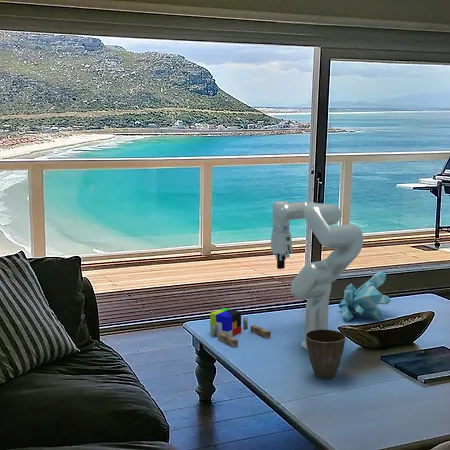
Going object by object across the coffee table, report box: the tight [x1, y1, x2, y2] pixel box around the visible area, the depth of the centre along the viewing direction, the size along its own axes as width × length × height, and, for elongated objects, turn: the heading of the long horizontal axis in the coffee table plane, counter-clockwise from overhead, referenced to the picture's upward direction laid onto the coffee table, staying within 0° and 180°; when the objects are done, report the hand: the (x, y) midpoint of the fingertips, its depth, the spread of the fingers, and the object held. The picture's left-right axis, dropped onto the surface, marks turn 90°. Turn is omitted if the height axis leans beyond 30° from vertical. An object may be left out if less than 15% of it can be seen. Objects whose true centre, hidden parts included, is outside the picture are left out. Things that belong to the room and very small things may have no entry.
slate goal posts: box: [211, 317, 249, 338], centre depth 298 cm, size 2×20×5 cm, turn 125°
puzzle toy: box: [209, 307, 242, 338], centre depth 296 cm, size 10×10×10 cm
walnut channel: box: [217, 324, 272, 348], centre depth 289 cm, size 12×20×3 cm, turn 125°
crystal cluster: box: [337, 271, 392, 322], centre depth 315 cm, size 22×26×21 cm
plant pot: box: [306, 329, 346, 381], centre depth 247 cm, size 15×15×16 cm
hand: (280, 268), depth 296 cm, fingers closed
